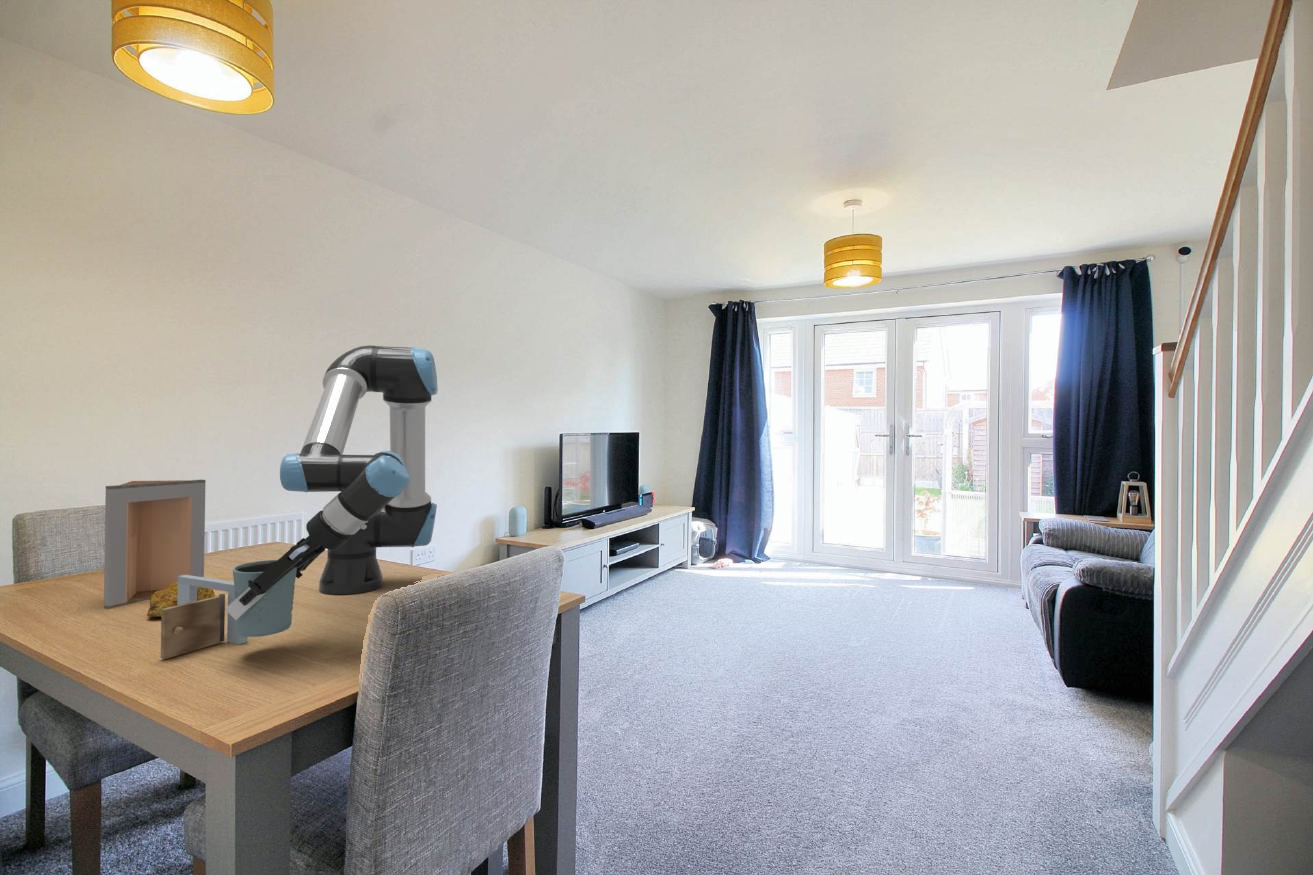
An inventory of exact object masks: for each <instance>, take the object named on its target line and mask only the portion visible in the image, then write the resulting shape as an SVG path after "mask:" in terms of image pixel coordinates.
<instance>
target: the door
mask: <svg viewBox="0 0 1313 875" xmlns="http://www.w3.org/2000/svg"><path fill="white" fill-rule="evenodd" d="M225 609H226V594H225V593H220V594H218V595H217V596H214V597H212V598H208V599H203V600H199V601H195V602H190V603H186V604H181V605H177V606H173V607H168V608H164V609H162V611H161V620H160V626H161V627H160V628H161V629H160V630H161V631H160V659H162V660H165V659H169V658H172V657H175V656H180V655H182V654H186V653H189V652H193V651H197V650H199V649H202V648H206V647H210V646H214V645H217V644H221V642H224V641H225V630H226V629H225V627H226V626H225V622H226V621H225V620H226V610H225Z"/></svg>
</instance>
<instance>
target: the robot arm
mask: <svg viewBox="0 0 1313 875" xmlns="http://www.w3.org/2000/svg"><path fill="white" fill-rule="evenodd" d="M436 367H437V366H436V362H435V358H434V355H433V353H432V352H431V351H430V350H428V349H424V348H416V347H409V346H408V347H404V346H383V345H382V346H378V345H361V346H358V347H355V348H353V349H350V350H347V351H346V352H345V353H342V354H341V355H340V356H338V357H337V358H336V359H335V360H334V361H333V362H332V363H331V364H330V365H329V366H328V367H327V369H326V371H325V373H324V376H323V378H322V386H323V389H324V390H323V392H322V394H321V397H320V401H319V403H318V404H317V405H318V406H317V407H316V410H315V412H314V416H313V419H312V422H311V424H310V426H309V429H308V431H307V435H306V437H305V440H304V442H303V445H302V447H301V450H300V453H299V452H295V453H287V454H286V455H285V456H284V457H283V458H282V459H281V463H280V466H279V481H280V484H281V486H282V488H283V489H284V490H286V491H288V492H289V491H290V492H299V493H300V492H303V493H318V492H320V493H321V492H323V493H327V492H333V493H334V492H335V493H336V492H339V493H337V494H336V495H335V496H334V497H333V498H332V499H331V500H330V501H329V502H327V503H326V504H325V505H324V506H323V507H322V510H320V511H318V512H317V513H316V514H315V515H314V516H312V517H311V518H310V519H309V520H308V521H307V522H306V526H305V528H306V531H307V535H308V536H307V537H305V538H304V537H303V538H301V539H300V540H299V541H297V542H296V544H295V545H291V547H290V549H289V550H288V551H287V552H285V553H284V554H283V555H282V556H280V557H279V558H278V559H276V560H277V561H276V562H275V563H274V564H273V565H271V566H270V567H269V568H268V569H267V570H265V571H264V572H263V573H262V574H261V575H259V576H258V577H257V578H256V579H255V580H254V581H251V580H249V581H248V583H249V585H248V586H249V587H248V588H247V589H246V590H245V591H244V592H243V593H242V594H241V595H240V596H239V597H238V598H236V599H235V600H234V601H233V602H232V603H231V604H230V605H229V606H228V605H227V606H226V607H225V612H226V613H227V614H228V613H229V614H230V615H231V616H232V617H233V618H234V619H235V620H237V619H238V618H239V617H240V616H242V615H243V614H244V613H245V612H246V611H247V610H248V609H249V608H250V607H251V606H252V605H254V604H255V603H256V602H257V601H258V600H259V599H260V598H261V597H262V596H263V595H264V594H266V593H265V592H266V591H267V590H268V589H269V588H271V587H272V586H273V585H274V584H276V583H277V582H278V581H279V580H280V579H282V578H283V577H284V576H285V575H287V574H288V573H289V572H290V571H292V570H293V569H294V568H297V572H296V578H297V579H301V577H302V576H303V575H304V574H303V573H302V572H303V571H305V570H306V569H307V568H308V567H309V566H310V565H311V564H313V562H314V561H315V560H316V559H317V558H318V557H319V556H320V555H321V554H323V553H324V552H325V551H326V550H327V556H326V557H327V558H326V559H327V560H326V563H325V565H324V568H323V570H322V573H321V576H320V579H319V582H318V585H319V586H318V590H319V592H321V593H323V594H328V595H351V594H352V595H353V594H362V593H367V592H370V591H374V590H377V589H379V588H381V587H382V586H383V585H384V584H383V583H384V582H383V581H384V580H383V579H384V577H383V573H382V570H381V568H380V564H379V562H378V558H377V548H409V547H410V548H415V547H425V546H428V545H429V544H430V543H431V542H432V539H433V533H434V527H435V521H436V516H437V515H436V514H437V507H438V505H437V504H436V503H434V502H432V496H431V495H430V494H429V493H428V492H426V407H427V406H428V405H429V404H430V403H431V402H432V396H435V395H437V394H438V390H439V389H438V376H437V369H436ZM369 392H371V393H373V392H374V393H382V400H383V402H384V403H386V405H388V407H389V441H390V442H389V443H390V444H389V446H390V447H389V449H390V450H383V451H379V452H376V453H374V454H343V453H344V451H345V449H346V448H345V447H346V444H347V441H348V437H349V434H350V430H351V428H352V425H353V421H354V418H355V414H356V412H357V407H358V405H359V401H360V399H362V398H364V396H365V395H366V393H369Z"/></svg>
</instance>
